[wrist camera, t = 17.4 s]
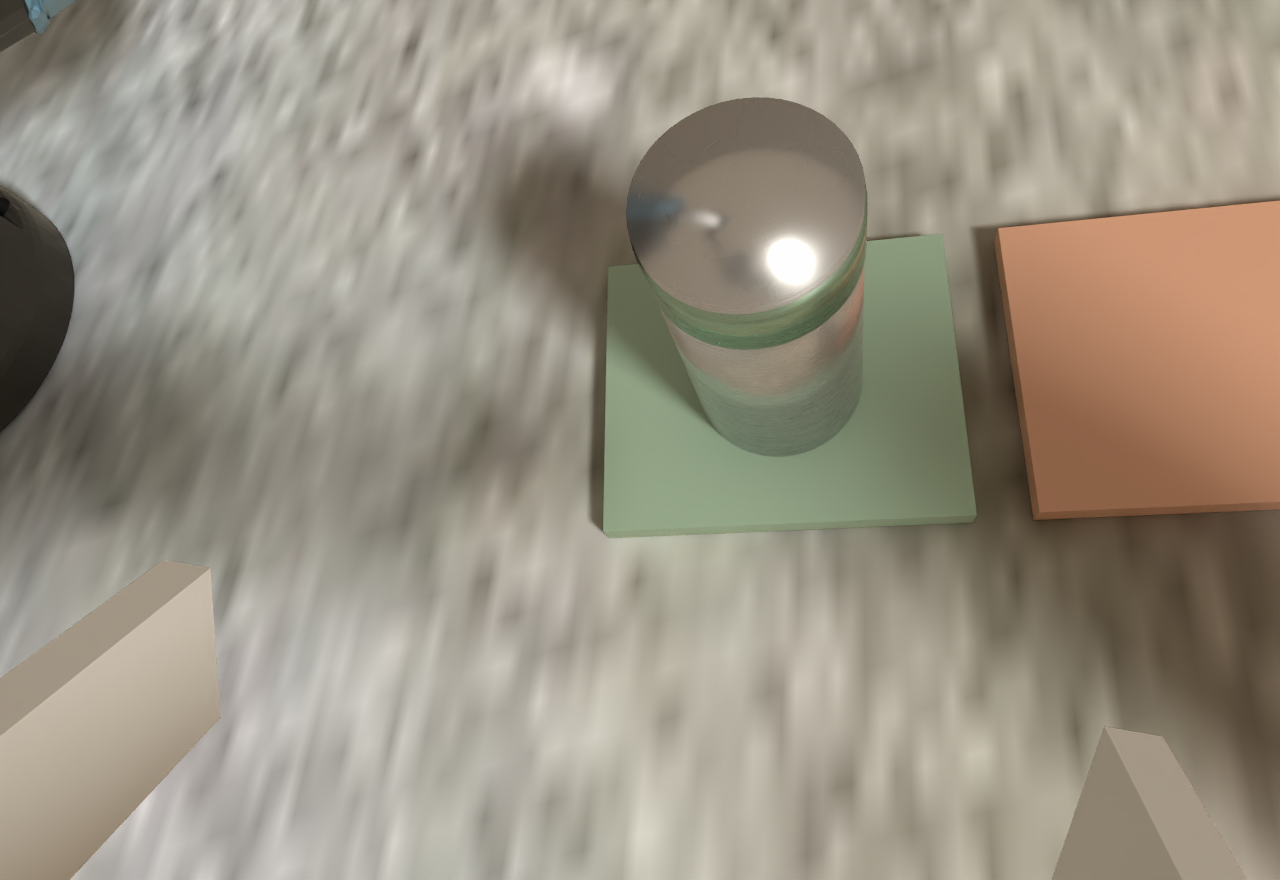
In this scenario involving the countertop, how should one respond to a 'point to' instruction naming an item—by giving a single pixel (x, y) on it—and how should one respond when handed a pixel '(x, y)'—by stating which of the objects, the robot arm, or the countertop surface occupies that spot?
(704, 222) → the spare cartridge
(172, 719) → the robot arm
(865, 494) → the green tile
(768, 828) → the countertop surface
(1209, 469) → the terracotta tile
